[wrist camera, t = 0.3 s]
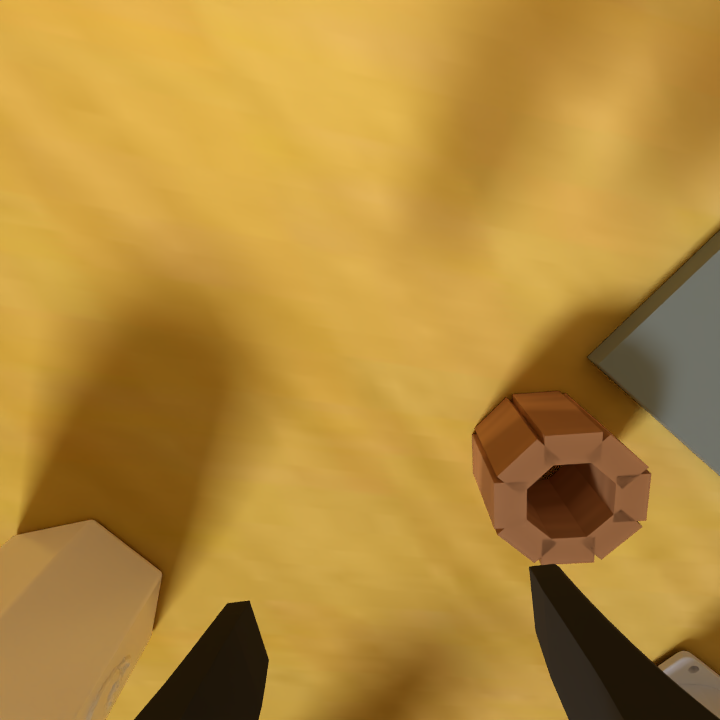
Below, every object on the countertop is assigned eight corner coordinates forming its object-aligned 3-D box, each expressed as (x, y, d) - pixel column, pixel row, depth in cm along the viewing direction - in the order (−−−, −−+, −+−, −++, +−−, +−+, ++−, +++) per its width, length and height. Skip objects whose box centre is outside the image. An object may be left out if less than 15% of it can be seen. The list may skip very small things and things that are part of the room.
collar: (623, 443, 20) (681, 495, 16) (533, 522, 21) (566, 587, 18) (535, 367, 19) (575, 403, 15) (447, 455, 21) (463, 508, 17)
